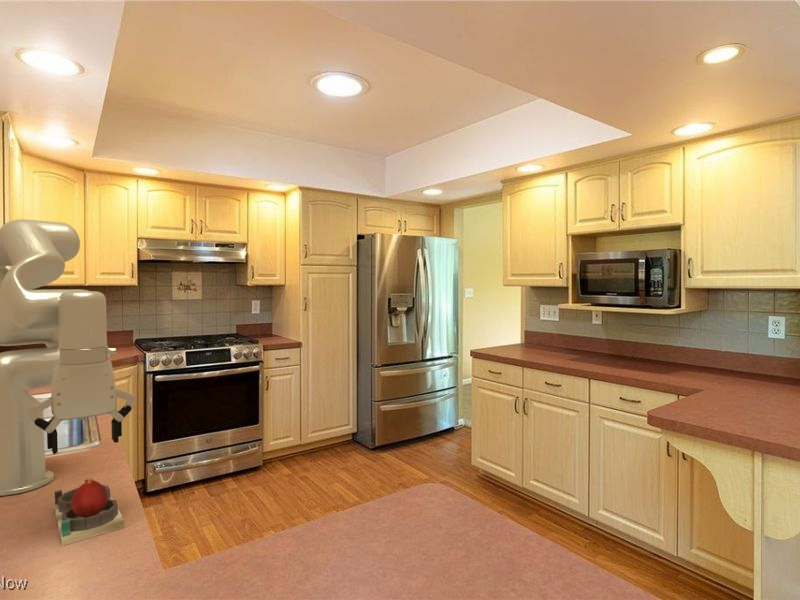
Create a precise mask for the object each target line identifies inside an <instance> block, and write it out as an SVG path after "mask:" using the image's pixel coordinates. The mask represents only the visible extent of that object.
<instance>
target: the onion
mask: <svg viewBox="0 0 800 600" xmlns="http://www.w3.org/2000/svg"><path fill="white" fill-rule="evenodd" d="M103 485H104V484H101V483H100V482H98V481H96V480H94V479H93V478H91V477H87V478H86V479H85V480H84V483H83V484H81V485H80V486H79V487H77V488H78V489H77V490H76V491H75V493H74V495H73V497H72V500H71V507H72V510H73V511H74V512H75V514H77V515H79V516H81V517H83V518H87V517H91V516H95V515H97V514H98V513H100V512H101V510H102V509H103V508H104V507H105V505H106V503H107V499H108V495H107V491H106V489H105V488H104V486H103Z"/></svg>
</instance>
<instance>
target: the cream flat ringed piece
mask: <svg viewBox="0 0 800 600" xmlns="http://www.w3.org/2000/svg"><path fill="white" fill-rule="evenodd" d="M102 485H103V486H104V488H105V489H106V491H107V495H108V499H107V503H106V505H105V507H104V508H103V509H102V510H101V512H100V513H98V514H97V515H95V516H91V517H87V518H83V517H81V516H79V515H77V514H75V512H74V511H73V510H72V507H71V500H72V497H73V495H74V493H75V491H76V490H77V489H78V488H79V487H76V488H74V489H71V490H69V491H67V492H64V493H63V490H62V489H60V490H54V503H53V504H54V505H53V506H54V514H55V519H56V523H57V527H58V533H59V538H60V542H61V547H63V546H67V545H70V544H73V543H77V542H81V541H84V540H87V539H91V538H94V537H99V536H101V535H105V534H107V533H111V532H114V531H119V530H121V529H124V528H125V519H124V518H123V515H122V514H121V511H120V510H119V506H118V504H119V503H118V502H117V500H116V499H114V497H113V496H112V494H111V489H110V487H109V485H106V484H102Z"/></svg>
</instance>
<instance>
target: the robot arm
mask: <svg viewBox="0 0 800 600" xmlns="http://www.w3.org/2000/svg"><path fill="white" fill-rule="evenodd" d="M80 248H81V239H80V237H79V233H78V232H77V231H76V229H75V228H74V227H73V226H72V225H70V224H69V223H65V222H59V221H58V222H57V221H46V220H45V221H44V220H38V219H37V220H35V219H23V218H22V219H21V218H20V219H14V220H11V221H10V220H9V221H7V222H5V223H4V224H3V225H2V226H1V227H0V347H10V346H11V347H13V346H25V345H34V344H45V346H46V347H42V348H41V347H40V348H29V349H26V348H25V349H20V350H19V349H17V350H9V351H8V350H7V351H3V352H0V497H1V496H11V495H18V494H21V493H25V492H26V493H27V492H29V491H33V490H36V489H39V488H41V487H45V485H47V484H49V483H51V482H52V481H53V480H54V477H55V474H54V472H53V471H52V470H51V471H50V470H46V454H45V453H46V450H45V433H46V443H47V444H46V446H47V450H51V452H52V455H57V454H58V452H59V451H58V450H59V449H58V443H59V442H58V431H57V427H58V426H60V424H61V423H62V422H63V421H71V420H78V419H84V418H90V417H98V416H103V415H104V416H105V415H110V416H111V417H112V420H111V421H110V422H111V424H110V425H111V440H112V442H113V443H116V444H117V443H119V440H120V439H119V437H122V436H123V431H122V430H123V429H122V428H123V427H122V426H123V425H122V422H123V421H124V420H125V418H126V416H127V415H129V414H130V412H131V411H132V410H133V407H134V405H135V403H136V401H137V399H138V397H137V396H136V395H135V394H132V393H129V392H127V391H124V390H119V389H117V386H116V379H115V374H114V372H115V371H114V367H113V364H112V361H111V360H108V359H109V358H110V357H112V356H116V355H117V350H116V348H115V347H113V348H112V347H109V346H108V336H107V332H108V331H107V328H108V327H107V299H106V296H105V294H104V293H102V292H100V291H96V290H95V291H93V290H92V291H91V290H87V289H76V288H75V289H65V288H64V289H38V288H40V287H43V286H47V285H49V284H51V283H53V282H55V281H56V280H58V279H59V278H60V277H61V276H62V275H63V273H64V272H65V269H66V268H65V267H66V262H69V261H71V260H73V259H74V258H75V257H77V255H78V254H79V251H80ZM7 267H10V269H8V268H7ZM48 387H51V390H50V391H51V392H50V394H51V396H50V397H48V398H45V400H43V401H41V402H40V401H39V400H38V399H37V398H36V397H34V396H33V395H32V394H31V393H30V391H31V390H33V391H34V390H36V389H43V388H48ZM117 398H118V399H123V400H125V405H123V407H121V409H120V410H117V404H118V401H117ZM49 407H50V409H51V410H50V411H51V414H52V417H51V418H50V419H49V420H48V421H47V420H46V419H44V411H45V410H46V409H48V408H49Z"/></svg>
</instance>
